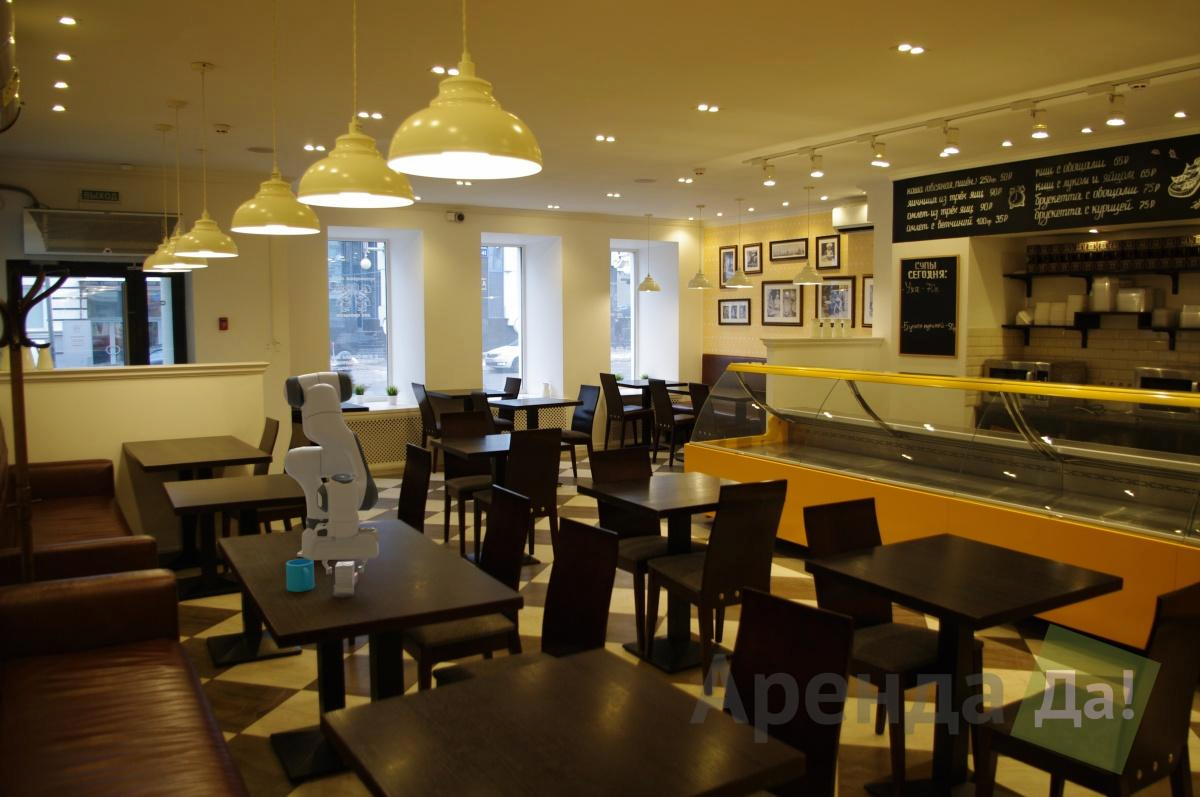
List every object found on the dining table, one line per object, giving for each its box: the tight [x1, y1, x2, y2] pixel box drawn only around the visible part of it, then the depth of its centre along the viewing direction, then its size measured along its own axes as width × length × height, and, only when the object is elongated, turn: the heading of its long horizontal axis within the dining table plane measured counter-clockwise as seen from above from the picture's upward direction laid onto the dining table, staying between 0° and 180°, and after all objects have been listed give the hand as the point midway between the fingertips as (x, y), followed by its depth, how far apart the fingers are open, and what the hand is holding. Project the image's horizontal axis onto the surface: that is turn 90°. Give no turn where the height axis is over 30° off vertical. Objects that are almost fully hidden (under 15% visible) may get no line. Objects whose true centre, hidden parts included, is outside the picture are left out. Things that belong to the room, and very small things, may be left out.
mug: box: [285, 558, 315, 593], centre depth 277 cm, size 12×8×8 cm
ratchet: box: [333, 571, 359, 599], centre depth 278 cm, size 18×6×6 cm, turn 6°
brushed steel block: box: [334, 560, 356, 587], centre depth 272 cm, size 5×5×6 cm
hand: (345, 573), depth 272 cm, fingers open, 8 cm apart
